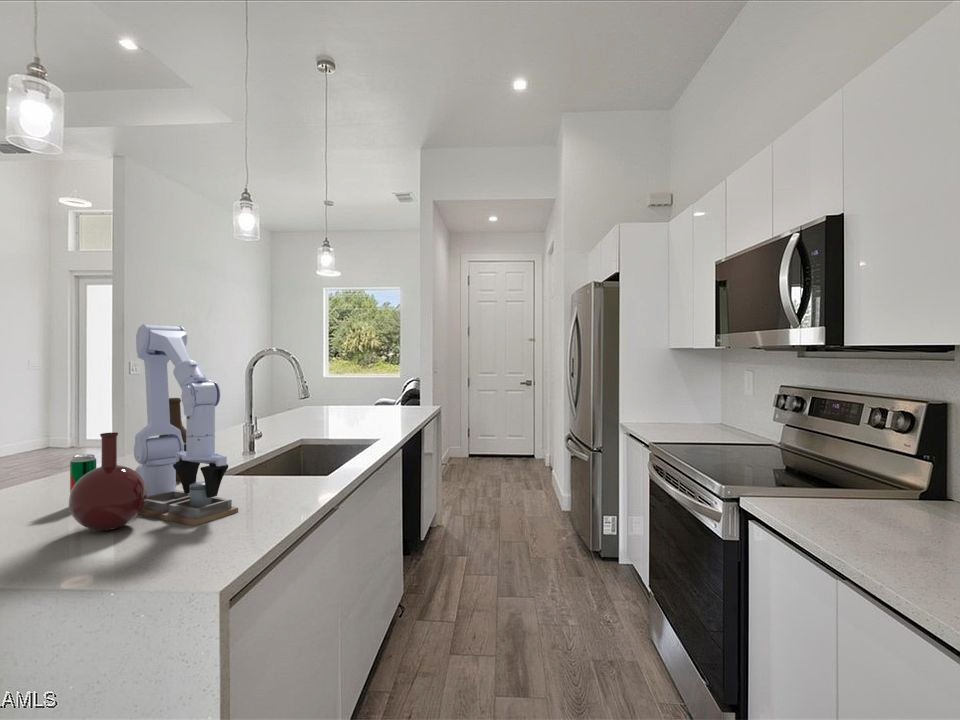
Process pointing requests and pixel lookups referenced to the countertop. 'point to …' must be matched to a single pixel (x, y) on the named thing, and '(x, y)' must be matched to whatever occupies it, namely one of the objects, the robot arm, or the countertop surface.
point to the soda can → (80, 467)
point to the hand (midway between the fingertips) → (200, 494)
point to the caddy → (185, 508)
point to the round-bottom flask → (107, 492)
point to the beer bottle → (176, 422)
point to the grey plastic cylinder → (198, 495)
